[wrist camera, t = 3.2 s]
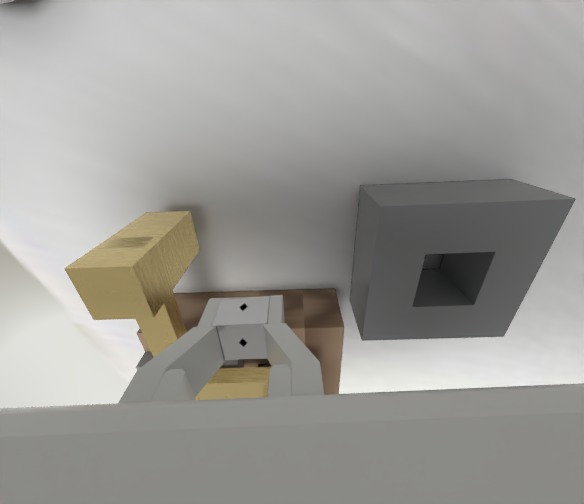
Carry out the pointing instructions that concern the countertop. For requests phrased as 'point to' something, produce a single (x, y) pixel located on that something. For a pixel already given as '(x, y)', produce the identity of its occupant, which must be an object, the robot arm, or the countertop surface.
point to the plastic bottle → (5, 1)
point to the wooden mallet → (154, 291)
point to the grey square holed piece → (449, 256)
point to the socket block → (298, 316)
